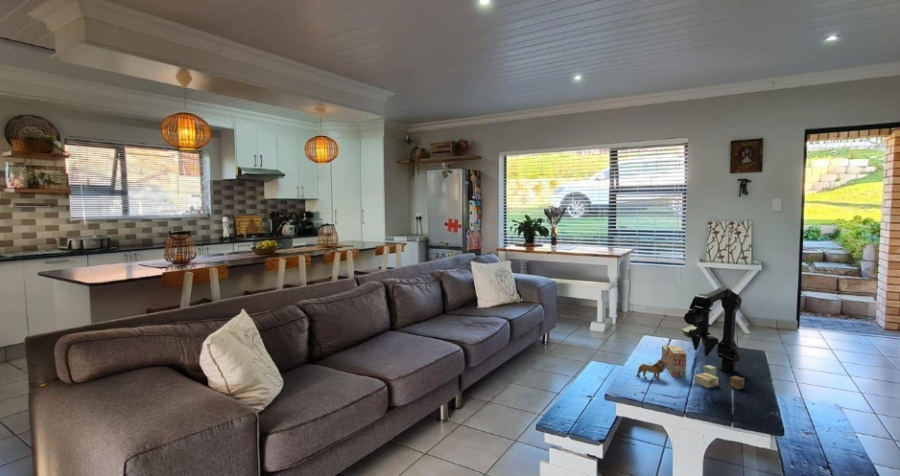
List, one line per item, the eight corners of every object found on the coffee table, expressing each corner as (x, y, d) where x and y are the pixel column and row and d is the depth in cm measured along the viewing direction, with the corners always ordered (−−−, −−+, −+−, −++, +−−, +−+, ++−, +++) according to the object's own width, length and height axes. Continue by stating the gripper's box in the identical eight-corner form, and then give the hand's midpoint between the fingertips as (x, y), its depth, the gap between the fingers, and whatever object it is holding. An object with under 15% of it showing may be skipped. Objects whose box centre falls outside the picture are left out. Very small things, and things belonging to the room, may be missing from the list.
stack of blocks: (661, 362, 247) (662, 339, 246) (673, 362, 245) (674, 340, 244) (672, 376, 226) (673, 352, 225) (685, 377, 224) (686, 353, 223)
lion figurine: (662, 375, 227) (662, 357, 226) (667, 379, 222) (668, 361, 221) (633, 375, 227) (633, 358, 226) (638, 380, 221) (638, 362, 221)
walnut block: (735, 385, 215) (736, 375, 215) (743, 388, 212) (744, 378, 211) (729, 386, 214) (730, 376, 214) (738, 389, 210) (738, 380, 210)
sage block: (708, 373, 230) (709, 365, 229) (715, 376, 226) (716, 367, 226) (703, 374, 228) (703, 366, 228) (710, 377, 224) (710, 368, 224)
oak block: (705, 380, 221) (705, 372, 221) (718, 386, 214) (718, 377, 214) (694, 382, 219) (694, 374, 218) (707, 388, 212) (707, 380, 212)
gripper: (675, 316, 228) (674, 347, 229) (695, 327, 209) (694, 360, 210) (697, 316, 228) (696, 346, 229) (720, 326, 209) (718, 359, 210)
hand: (700, 353), depth 220 cm, fingers open, 9 cm apart
